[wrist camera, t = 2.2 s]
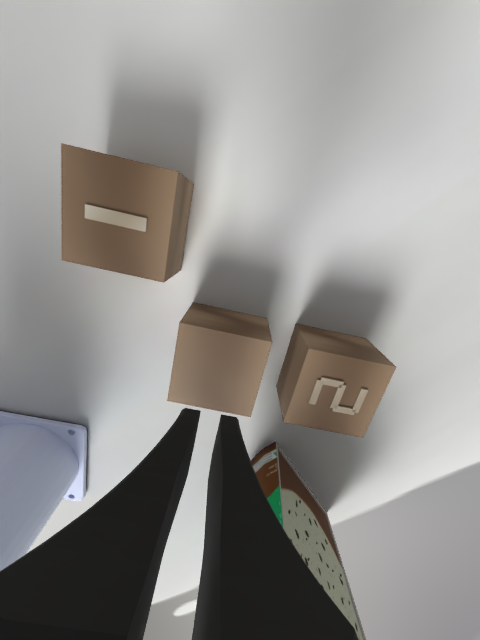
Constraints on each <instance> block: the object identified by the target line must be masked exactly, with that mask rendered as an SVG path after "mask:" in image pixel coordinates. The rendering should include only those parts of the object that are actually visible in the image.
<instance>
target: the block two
mask: <svg viewBox="0 0 480 640" xmlns="http://www.w3.org/2000/svg"><path fill="white" fill-rule="evenodd" d="M395 369H396V366H395V365H394V364H393V363H392V362H390V361H389V360H388V359H387V358H386V357H385V356H384V355H383V354H382V353H381V352H380V351H379V350H378V349H377V348H376V347H375V346H373V345H372V344H371V343H370V342H369V341H368V340H367V339H365V338H361V337H356V336H351V335H347V334H342V333H337V332H333V331H328V330H323V329H319V328H314V327H309V326H305V325H300V324H295V327H294V331H293V334H292V337H291V340H290V344H289V347H288V350H287V353H286V356H285V360H284V363H283V366H282V369H281V373H280V376H279V379H278V382H277V385H276V386H277V392H278V397H279V402H280V407H281V412H282V417H283V422H284V423H289V424H295V425H300V426H305V427H310V428H316V429H321V430H326V431H331V432H336V433H342V434H347V435H352V436H357V437H362V438H363V436H364V434H365V432H366V430H367V428H368V426H369V424H370V422H371V419H372V417H373V415H374V413H375V411H376V409H377V407H378V405H379V403H380V400H381V398H382V396H383V394H384V392H385V390H386V388H387V386H388V384H389V381H390V379H391V377H392V375H393V373H394V371H395Z"/></svg>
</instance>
